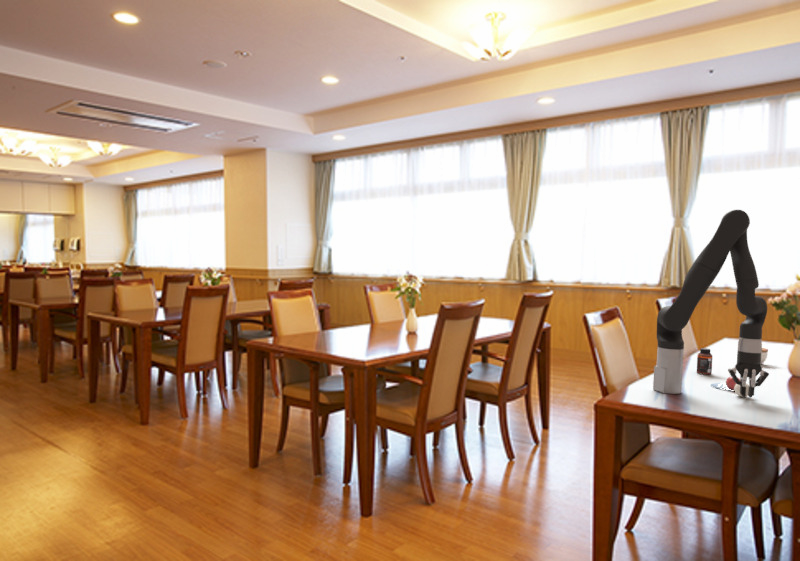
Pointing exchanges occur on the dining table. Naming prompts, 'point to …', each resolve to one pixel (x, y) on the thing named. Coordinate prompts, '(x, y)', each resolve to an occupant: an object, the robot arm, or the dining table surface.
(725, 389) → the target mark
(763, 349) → the lidded jar
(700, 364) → the supplement bottle
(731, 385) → the red ball
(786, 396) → the dining table surface
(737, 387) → the cue ball
